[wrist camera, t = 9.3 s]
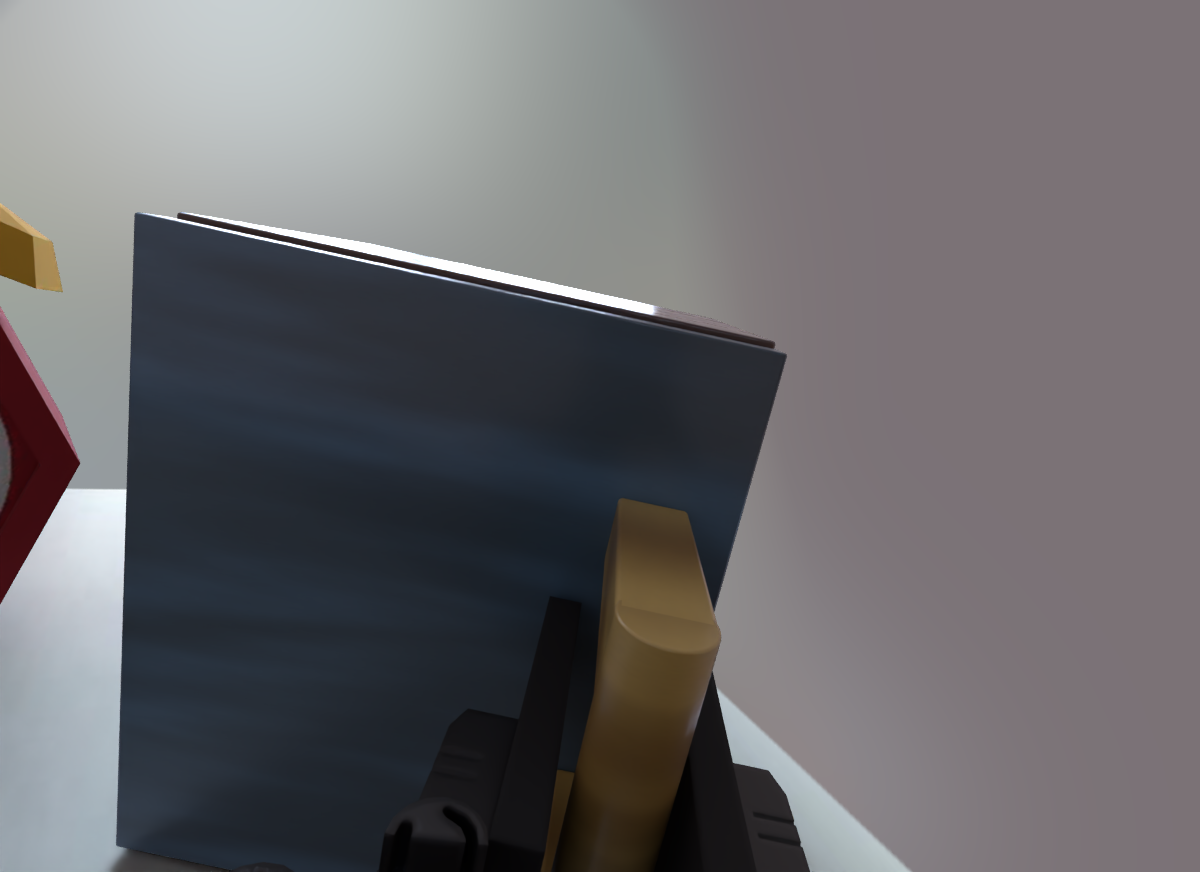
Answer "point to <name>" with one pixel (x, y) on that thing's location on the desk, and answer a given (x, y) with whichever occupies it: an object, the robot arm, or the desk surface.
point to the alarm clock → (27, 411)
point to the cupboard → (490, 279)
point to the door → (408, 545)
